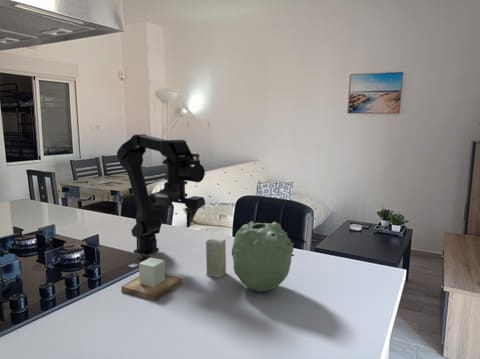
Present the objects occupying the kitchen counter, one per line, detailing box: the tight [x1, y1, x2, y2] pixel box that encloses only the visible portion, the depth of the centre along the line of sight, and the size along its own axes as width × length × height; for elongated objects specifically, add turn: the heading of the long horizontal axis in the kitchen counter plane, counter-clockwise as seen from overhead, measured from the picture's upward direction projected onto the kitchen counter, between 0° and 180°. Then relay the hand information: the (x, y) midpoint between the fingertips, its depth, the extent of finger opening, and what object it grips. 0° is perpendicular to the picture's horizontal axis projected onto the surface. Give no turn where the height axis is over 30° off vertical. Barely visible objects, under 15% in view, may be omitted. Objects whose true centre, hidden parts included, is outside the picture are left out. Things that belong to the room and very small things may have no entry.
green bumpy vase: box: [231, 220, 296, 293], centre depth 102 cm, size 16×19×20 cm
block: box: [138, 257, 166, 287], centre depth 103 cm, size 5×5×6 cm
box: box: [205, 237, 227, 278], centre depth 112 cm, size 5×4×11 cm
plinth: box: [120, 273, 183, 302], centre depth 103 cm, size 12×12×2 cm
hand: (176, 225), depth 119 cm, fingers open, 9 cm apart
